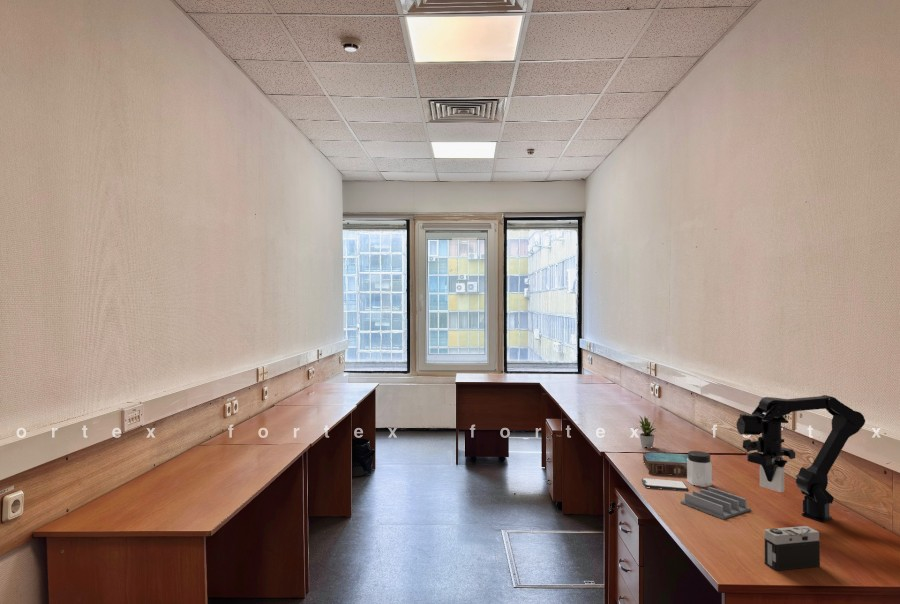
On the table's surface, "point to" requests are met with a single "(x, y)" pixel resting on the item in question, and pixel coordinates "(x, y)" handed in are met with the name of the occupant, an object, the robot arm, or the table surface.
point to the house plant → (646, 433)
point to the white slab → (777, 480)
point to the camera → (792, 548)
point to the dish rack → (716, 502)
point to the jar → (699, 469)
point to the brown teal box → (666, 463)
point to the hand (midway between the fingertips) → (771, 480)
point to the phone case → (664, 484)
